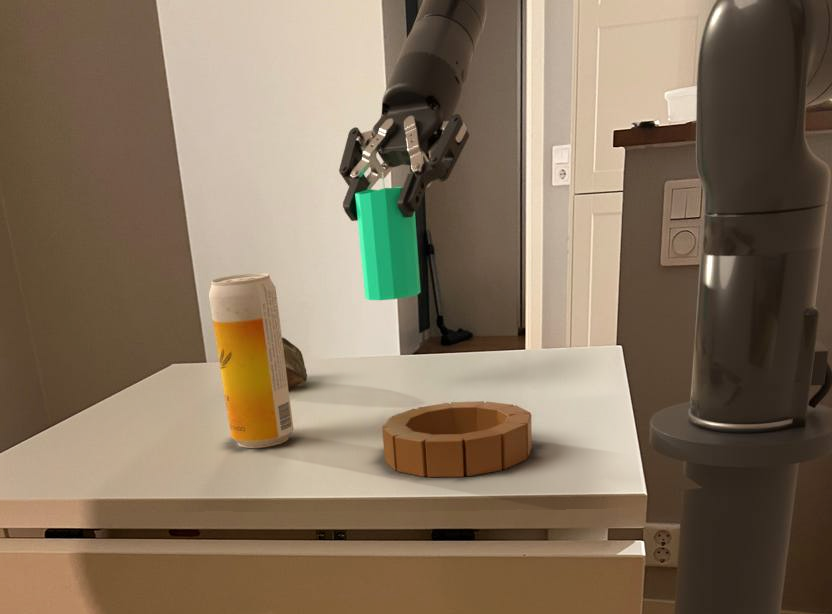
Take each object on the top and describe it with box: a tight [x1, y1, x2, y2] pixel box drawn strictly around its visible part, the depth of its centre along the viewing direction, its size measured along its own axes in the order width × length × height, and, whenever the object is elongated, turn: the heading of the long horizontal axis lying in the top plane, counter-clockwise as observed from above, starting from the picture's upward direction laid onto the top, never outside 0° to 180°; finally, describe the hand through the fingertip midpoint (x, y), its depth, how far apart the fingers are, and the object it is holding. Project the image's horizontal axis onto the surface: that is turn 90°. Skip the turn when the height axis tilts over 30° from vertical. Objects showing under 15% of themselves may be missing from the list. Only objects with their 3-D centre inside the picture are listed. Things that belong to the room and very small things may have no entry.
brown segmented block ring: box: [381, 400, 533, 478], centre depth 82 cm, size 12×12×3 cm
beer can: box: [208, 272, 294, 449], centre depth 89 cm, size 6×6×15 cm
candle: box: [355, 172, 422, 301], centre depth 100 cm, size 6×6×12 cm
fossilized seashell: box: [282, 336, 308, 389], centre depth 113 cm, size 8×7×10 cm
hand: (377, 213), depth 98 cm, fingers closed on candle, 6 cm apart
